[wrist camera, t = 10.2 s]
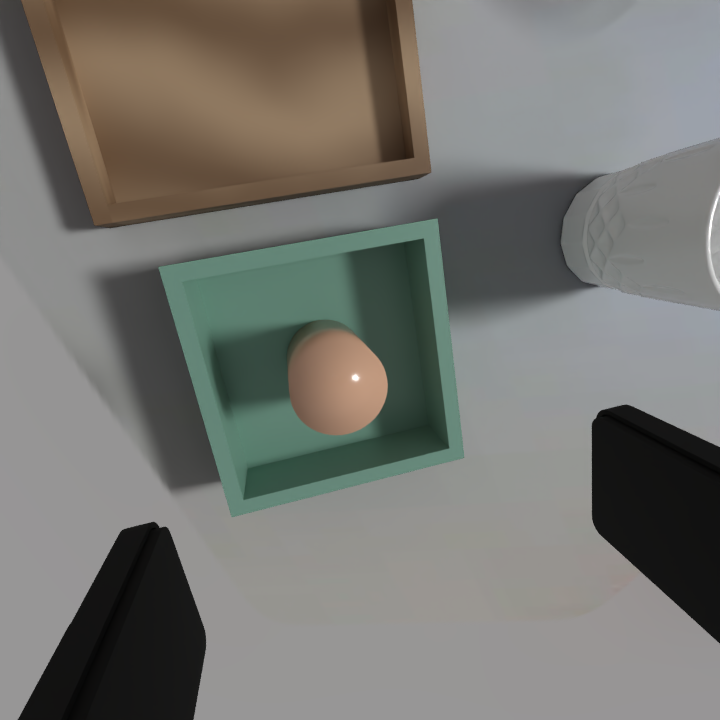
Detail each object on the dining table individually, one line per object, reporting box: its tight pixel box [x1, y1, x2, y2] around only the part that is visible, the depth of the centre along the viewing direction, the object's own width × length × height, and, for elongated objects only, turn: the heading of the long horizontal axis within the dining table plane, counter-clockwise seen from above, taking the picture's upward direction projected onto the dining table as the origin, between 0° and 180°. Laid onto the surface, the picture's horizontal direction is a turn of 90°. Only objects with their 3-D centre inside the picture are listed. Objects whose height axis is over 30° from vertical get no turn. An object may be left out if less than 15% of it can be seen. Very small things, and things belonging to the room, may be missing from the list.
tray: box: [21, 0, 431, 228], centre depth 19 cm, size 16×16×2 cm
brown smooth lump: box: [287, 320, 388, 435], centre depth 22 cm, size 4×4×6 cm
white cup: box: [561, 138, 720, 311], centre depth 22 cm, size 8×8×10 cm
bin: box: [158, 218, 464, 517], centre depth 23 cm, size 13×13×4 cm
